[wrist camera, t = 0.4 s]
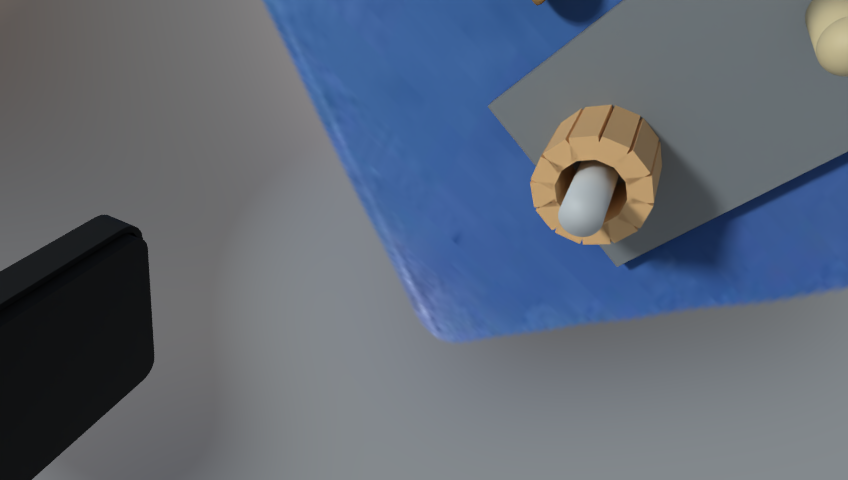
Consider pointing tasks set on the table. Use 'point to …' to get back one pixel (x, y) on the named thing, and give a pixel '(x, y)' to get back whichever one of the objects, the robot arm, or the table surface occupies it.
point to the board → (694, 104)
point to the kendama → (538, 1)
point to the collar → (608, 143)
